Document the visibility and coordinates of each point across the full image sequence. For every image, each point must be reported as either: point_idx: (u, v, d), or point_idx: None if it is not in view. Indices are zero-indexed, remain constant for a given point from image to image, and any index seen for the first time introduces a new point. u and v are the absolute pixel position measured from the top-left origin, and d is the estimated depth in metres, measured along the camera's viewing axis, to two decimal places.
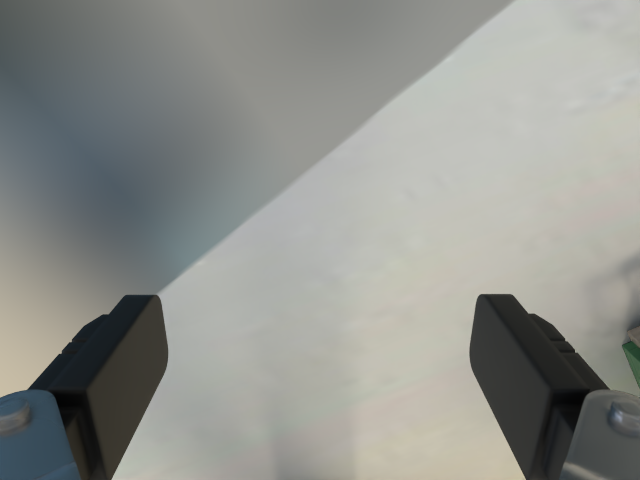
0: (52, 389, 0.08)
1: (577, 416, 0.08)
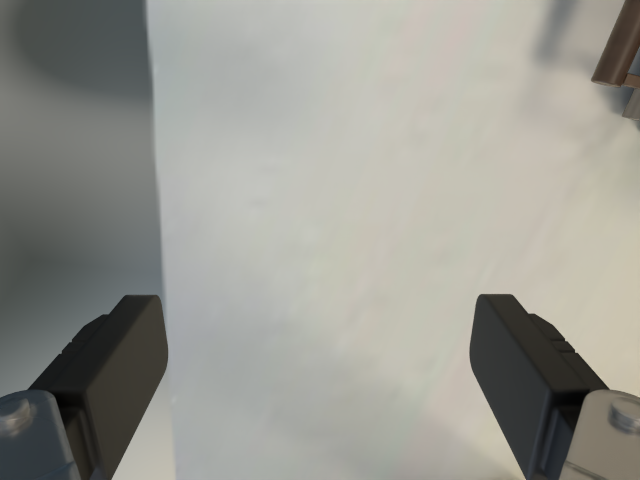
0: (52, 389, 0.08)
1: (577, 416, 0.08)
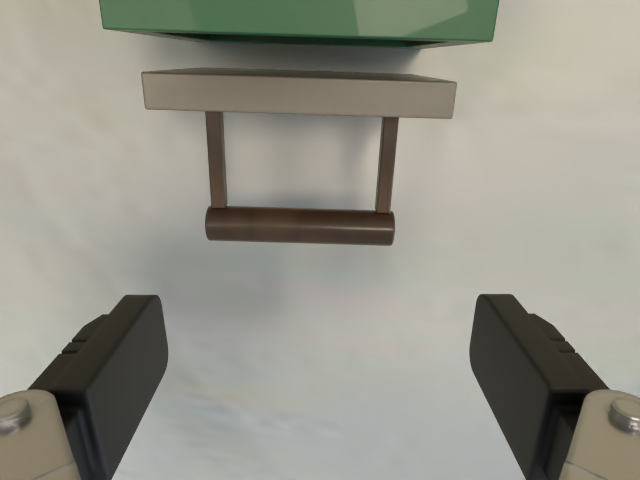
0: (52, 389, 0.08)
1: (577, 416, 0.08)
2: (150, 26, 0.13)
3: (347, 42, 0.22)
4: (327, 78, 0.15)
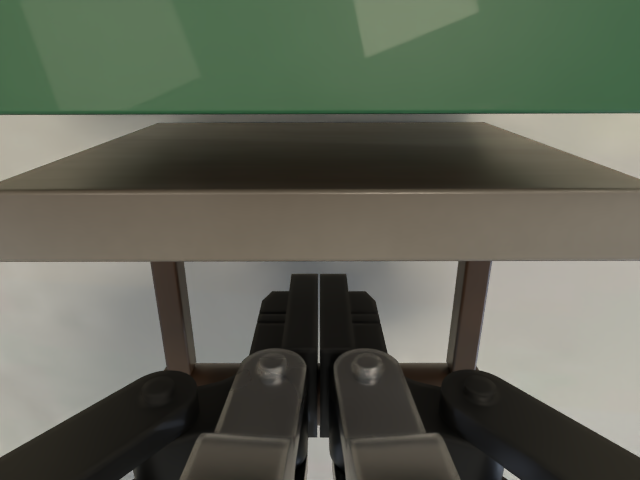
0: (286, 348, 0.09)
1: None
2: None
3: None
4: (382, 189, 0.07)
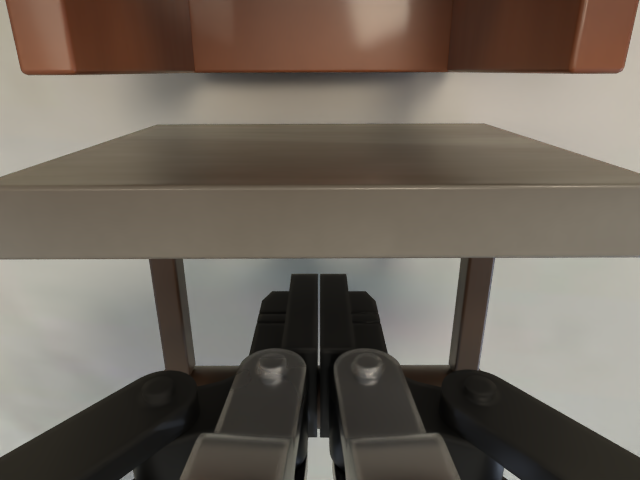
0: (286, 348, 0.09)
1: None
2: None
3: None
4: (384, 185, 0.07)
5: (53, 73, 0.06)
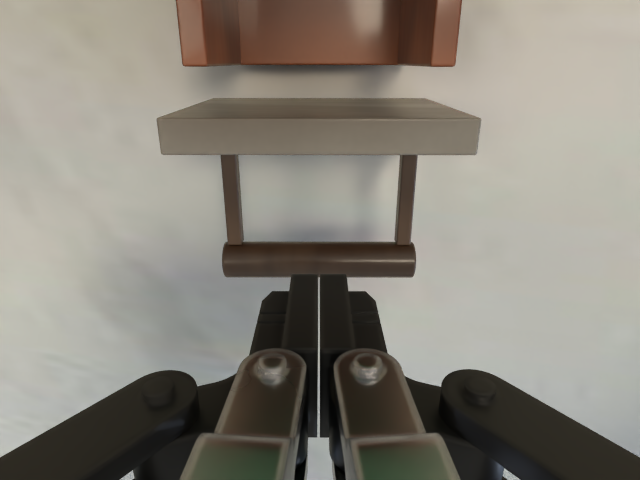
0: (286, 349, 0.09)
1: None
2: None
3: None
4: (347, 118, 0.14)
5: (197, 65, 0.14)
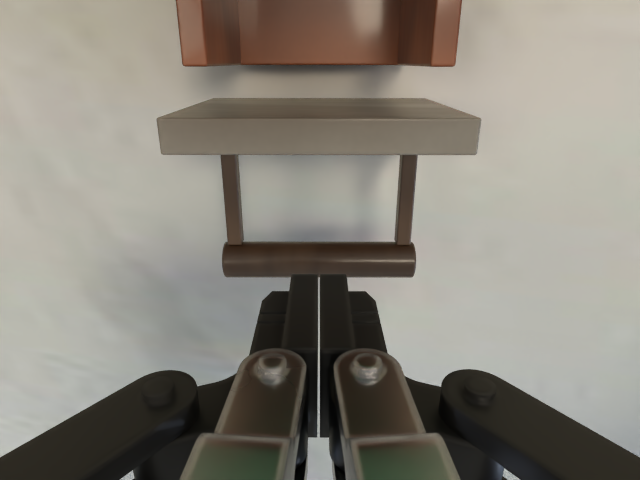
0: (286, 349, 0.09)
1: None
2: None
3: None
4: (347, 118, 0.14)
5: (196, 65, 0.14)
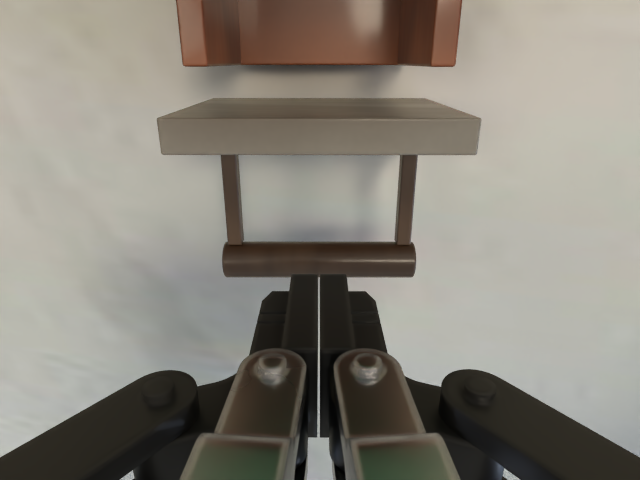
0: (286, 349, 0.09)
1: None
2: None
3: None
4: (347, 118, 0.14)
5: (197, 65, 0.14)
